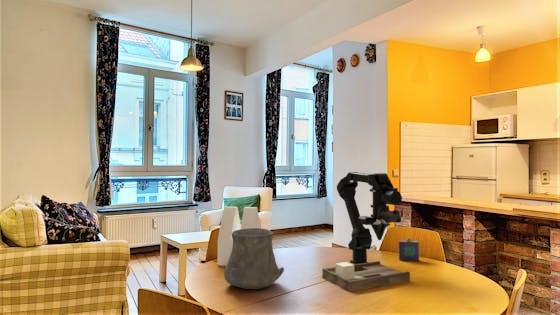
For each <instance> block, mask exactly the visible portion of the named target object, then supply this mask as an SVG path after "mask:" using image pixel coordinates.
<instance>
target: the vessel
mask: <svg viewBox="0 0 560 315" xmlns="http://www.w3.org/2000/svg"><path fill="white" fill-rule="evenodd" d="M231 234H232V239H233V247H232V251H231V254H230V257H229V260H228V262H227V265H226V266H225V267H224V272H223V277H224V280H225V281H226V283H227V284H229V285H231V286H234V287H238V288H242V289H248V290H259V289H260V290H261V289H265V288H267V287H270V286H271V285H272V284H273V283H275V282H276V281H277V280H278V279H280V277H281V276H282V275H283V274H284V271H285V268H284V267H283V266H282V267H278V265H277V262H276V256H275V254H274V248H273V236H274V231H271V230H270V229H266V228H261V229H260V228H248V229H241V230H236V231H234V232H232V233H231Z"/></svg>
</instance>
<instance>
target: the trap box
mask: <svg viewBox="0 0 560 315" xmlns="http://www.w3.org/2000/svg"><path fill="white" fill-rule="evenodd" d="M368 262H369V263H361V264H354V263H353V265H354V277H353V278H347V279H346V278H344V277H341V276H339V275H337V274H336V266H334V267H333V266H332V267H325V268H322V271H321V272H322V278H323V279H324V280H326V281H328V282H330V283H332V284H334V285H335V286H338V287H340V288H341V289H343V290H345V291H347V292H349V293H350V292H351V293H352V292H356V291H362V290H368V289H373V288H379V287H386V286H391V285H397V284H404V283H409V282H411V272H410V271H400V270H398V269H394V268H392V267H390V266H387V265H383V264H381V261H380V260H377V261H371V262H370V261H368Z"/></svg>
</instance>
